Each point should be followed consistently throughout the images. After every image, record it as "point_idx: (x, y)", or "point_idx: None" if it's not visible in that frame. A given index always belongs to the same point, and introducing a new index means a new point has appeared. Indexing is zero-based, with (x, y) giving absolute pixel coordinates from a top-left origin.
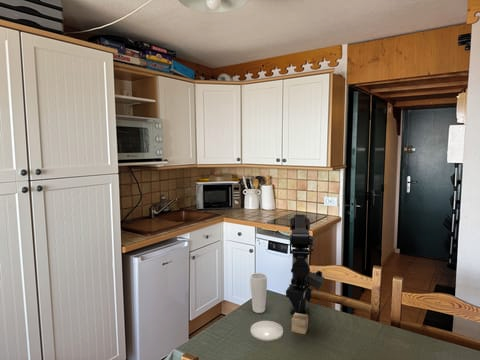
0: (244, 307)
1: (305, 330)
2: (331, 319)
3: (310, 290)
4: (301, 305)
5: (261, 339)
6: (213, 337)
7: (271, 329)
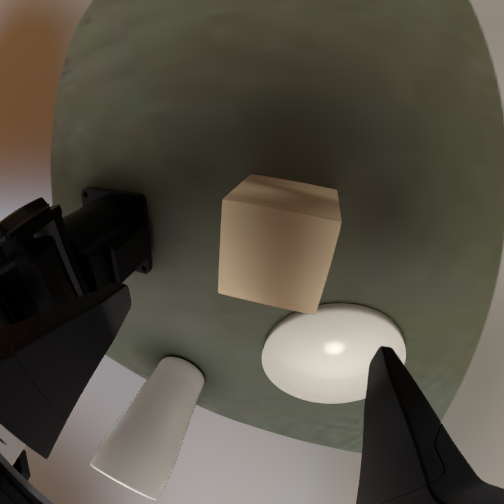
0: None
1: (325, 192)
2: (130, 57)
3: (2, 240)
4: (108, 244)
5: None
6: None
7: (334, 354)
